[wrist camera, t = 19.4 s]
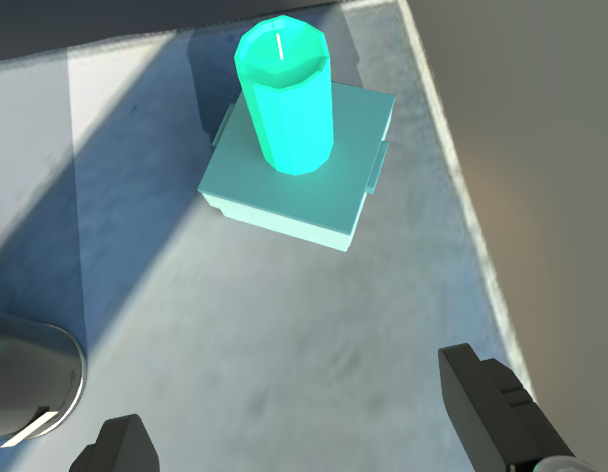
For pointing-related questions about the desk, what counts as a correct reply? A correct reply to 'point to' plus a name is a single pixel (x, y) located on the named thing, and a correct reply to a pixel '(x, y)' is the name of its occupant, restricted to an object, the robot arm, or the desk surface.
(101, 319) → the desk surface
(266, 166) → the food tub
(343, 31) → the desk surface
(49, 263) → the desk surface
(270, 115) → the candle
